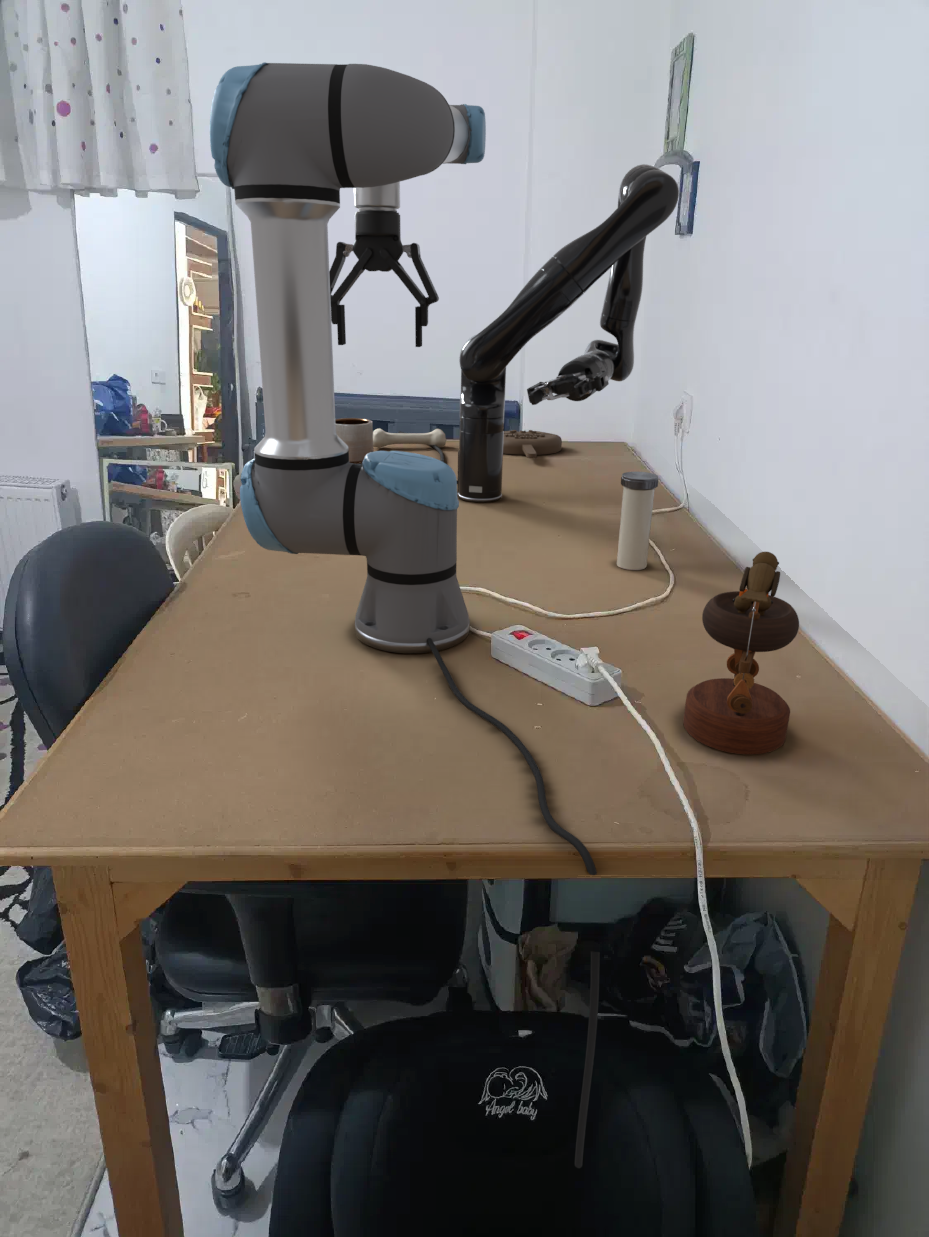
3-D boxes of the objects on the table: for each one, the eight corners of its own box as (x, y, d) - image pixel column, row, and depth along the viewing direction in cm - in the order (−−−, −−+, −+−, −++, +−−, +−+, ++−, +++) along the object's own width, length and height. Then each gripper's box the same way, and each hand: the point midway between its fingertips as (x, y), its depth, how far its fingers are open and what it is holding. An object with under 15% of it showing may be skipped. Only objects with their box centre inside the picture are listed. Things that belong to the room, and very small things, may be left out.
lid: (616, 487, 134) (616, 476, 133) (626, 479, 139) (627, 469, 138) (652, 491, 132) (653, 481, 131) (661, 483, 136) (662, 474, 136)
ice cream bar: (490, 463, 212) (491, 447, 210) (483, 442, 238) (483, 427, 236) (573, 464, 213) (575, 447, 211) (557, 443, 239) (558, 428, 237)
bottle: (612, 567, 139) (620, 479, 134) (621, 559, 143) (629, 473, 138) (642, 572, 137) (650, 483, 132) (650, 563, 141) (659, 476, 136)
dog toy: (443, 444, 234) (444, 426, 233) (447, 448, 229) (447, 430, 227) (371, 445, 231) (370, 427, 229) (372, 450, 226) (371, 431, 224)
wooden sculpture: (807, 766, 83) (825, 574, 75) (692, 766, 84) (698, 577, 77) (772, 695, 97) (784, 526, 89) (674, 696, 98) (678, 530, 91)
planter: (327, 456, 217) (325, 418, 214) (369, 454, 220) (368, 417, 217) (334, 465, 208) (332, 425, 204) (377, 463, 211) (376, 424, 207)
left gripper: (455, 213, 142) (453, 345, 150) (309, 211, 144) (315, 342, 152) (449, 210, 135) (448, 349, 143) (297, 208, 137) (304, 345, 145)
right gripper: (545, 363, 164) (513, 381, 152) (615, 350, 158) (588, 367, 145) (552, 401, 167) (522, 422, 154) (622, 390, 160) (596, 410, 147)
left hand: (380, 345), depth 147 cm, fingers open, 13 cm apart
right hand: (554, 395), depth 150 cm, fingers open, 8 cm apart
